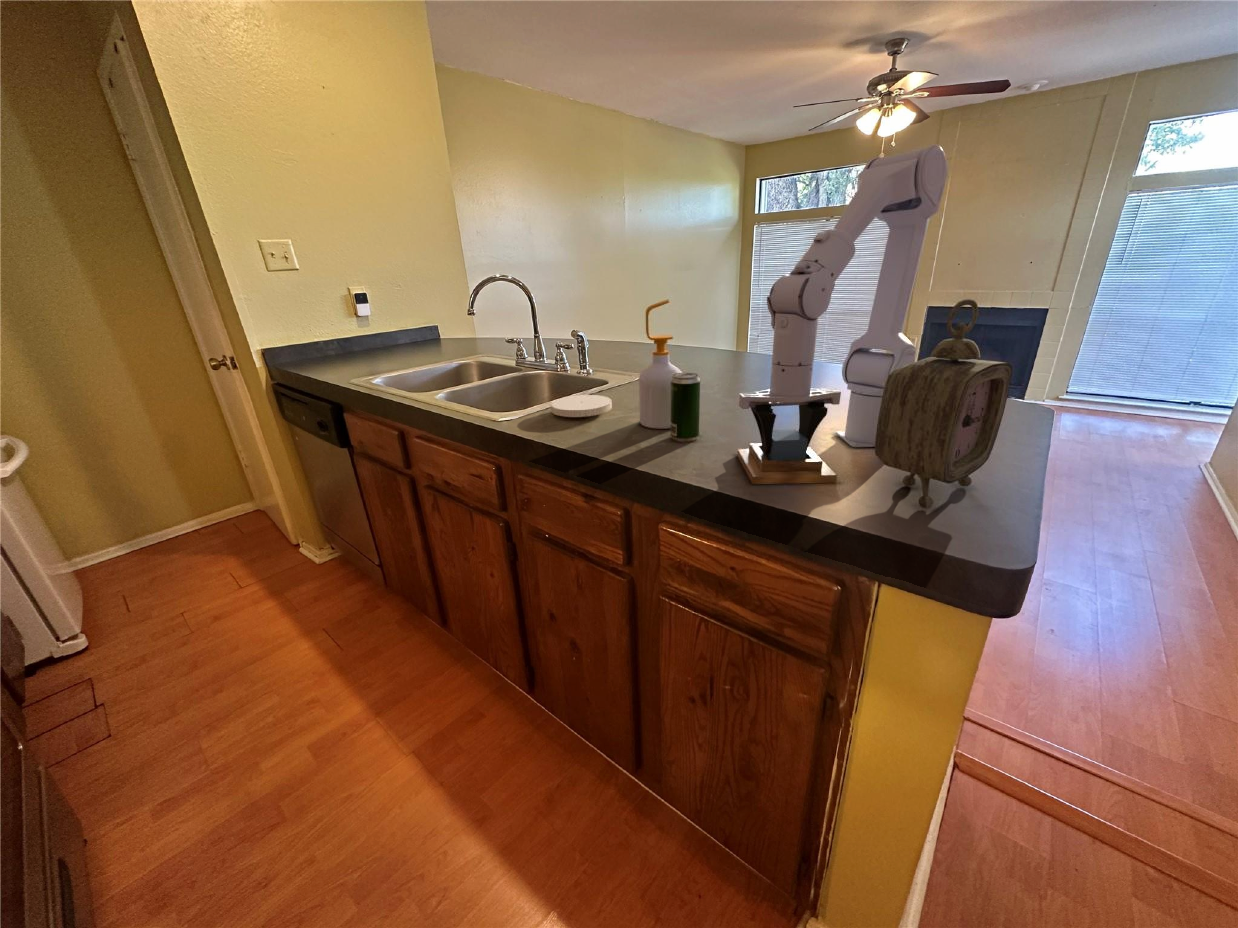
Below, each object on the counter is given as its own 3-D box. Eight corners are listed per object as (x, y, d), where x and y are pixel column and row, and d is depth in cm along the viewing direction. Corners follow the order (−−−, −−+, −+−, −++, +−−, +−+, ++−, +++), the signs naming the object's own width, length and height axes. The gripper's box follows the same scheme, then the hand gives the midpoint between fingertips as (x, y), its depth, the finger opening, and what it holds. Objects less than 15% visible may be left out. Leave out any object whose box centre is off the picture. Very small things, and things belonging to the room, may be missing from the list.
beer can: (683, 444, 87) (683, 379, 83) (664, 437, 92) (664, 375, 87) (705, 438, 90) (706, 375, 86) (686, 431, 94) (686, 371, 90)
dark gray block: (793, 452, 77) (795, 429, 76) (805, 464, 72) (808, 439, 71) (762, 454, 77) (764, 430, 76) (772, 465, 72) (774, 440, 71)
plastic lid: (569, 403, 119) (568, 393, 118) (621, 407, 114) (620, 396, 113) (540, 419, 107) (539, 408, 106) (596, 423, 102) (595, 412, 101)
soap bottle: (685, 428, 96) (687, 300, 87) (640, 430, 96) (637, 302, 87) (680, 416, 104) (681, 298, 95) (639, 418, 105) (636, 300, 96)
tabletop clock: (931, 517, 59) (979, 304, 49) (861, 493, 66) (892, 302, 56) (984, 487, 66) (1034, 296, 57) (915, 468, 73) (950, 295, 64)
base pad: (808, 453, 80) (810, 438, 79) (835, 482, 69) (838, 465, 68) (737, 455, 81) (737, 440, 80) (752, 484, 70) (753, 467, 69)
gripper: (830, 356, 73) (820, 440, 78) (735, 360, 73) (731, 444, 78) (852, 364, 66) (839, 455, 71) (748, 369, 66) (743, 459, 71)
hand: (784, 450), depth 74 cm, fingers closed on dark gray block, 5 cm apart
